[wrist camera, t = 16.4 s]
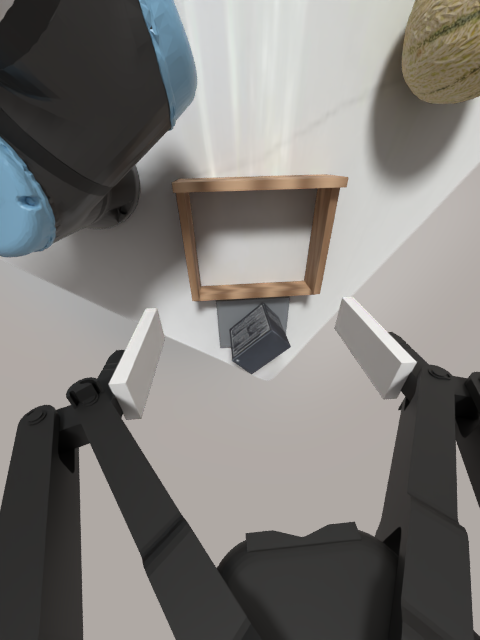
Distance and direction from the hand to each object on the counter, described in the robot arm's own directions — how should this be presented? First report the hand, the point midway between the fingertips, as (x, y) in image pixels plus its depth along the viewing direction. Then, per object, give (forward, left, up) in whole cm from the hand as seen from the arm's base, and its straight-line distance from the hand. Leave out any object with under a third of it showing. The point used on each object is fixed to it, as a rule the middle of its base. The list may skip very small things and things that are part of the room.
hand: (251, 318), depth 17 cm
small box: (+4, -22, -30) cm, 38 cm away
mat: (+4, -22, -31) cm, 38 cm away
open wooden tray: (+4, -3, -31) cm, 31 cm away
